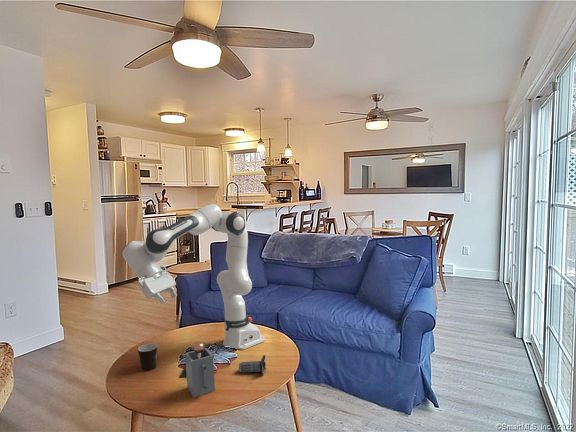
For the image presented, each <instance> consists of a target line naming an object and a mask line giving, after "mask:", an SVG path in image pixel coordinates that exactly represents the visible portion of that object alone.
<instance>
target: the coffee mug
mask: <svg viewBox="0 0 576 432" xmlns="http://www.w3.org/2000/svg"><path fill="white" fill-rule="evenodd" d="M137 353H138V357H139V362H140V368H141V369H140V370H141V371H142V370H143V372H151V371H153V370H155V369H156V367H157V356H158V344H157V343H154V342H151V343H145V344H142V345H140V346H138V348H137Z"/></svg>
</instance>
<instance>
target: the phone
mask: <svg viewBox="0 0 576 432" xmlns="http://www.w3.org/2000/svg"><path fill="white" fill-rule="evenodd" d="M180 378H186V379H187V375H186V364H185V365H184V367H183V369H182V371H181V373H180Z"/></svg>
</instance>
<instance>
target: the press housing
mask: <svg viewBox="0 0 576 432" xmlns="http://www.w3.org/2000/svg"><path fill="white" fill-rule="evenodd" d="M184 356H185V365H186V375H187V378H186V388H187V390H188V391H189V394H190V395H191V396H192V398H197V397H201V396H203V395H207V394H209V393H213V392H215V391H216V386H215V384H216V383H215V381H216V380H215V365H214V364H215V362H214V360H215V359H214V355H213V354H212V352H211V351H210V350H209V349H208V348H207V347H203V352H201V358H200V359H198V353H195V351H194V350H192V351H189V352H186V353H185V355H184Z"/></svg>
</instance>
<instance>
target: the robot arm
mask: <svg viewBox="0 0 576 432" xmlns="http://www.w3.org/2000/svg"><path fill="white" fill-rule="evenodd" d="M210 229H212V230H214V231H216V232H221V233H224V234H226V236H227V242H226V252H225V262H226V264H227V267H228V269H225V270H221V271H220V272H219V273H218V275H217V277H216V283H217V285H218V287H219V289H220V292H221V297H222V300H223V305H224V307H223V308H224V318H223V320H224V322H223V326H224V327H223V328H224V338H223V342H222V345H224V346H230V347H233V348H235V349H234V350H241V351H242V350H245V349H249V348H251V347H253V346H255V345H258V344H260V343H264V342H265V341H266V340H265V339H266V338H265V336H264V335H263V334H261V331H260V329H259V327H257V326H256V325H254V324H253V323H251V322H253V317H250V316H248V315H247V314H246V302H245V300H244V298H243V296H245V295H248V294H249V293H250V292H251V291H252V289H253V282H252V279H251V277H250V275H249V269H248V263H247V259H248V258H247V257H248V249H249V245H248V244H249V235H248V233H249V232H248V230H247V228H246V220H245V217H244V216H243V214H241V213H239V212H237V211H235V212H233V211H230V210H229V211H222V209H221V207H219V206H218V205H217V204H214V203H210V204H207V205H204V206H202V207H199V208H198V209H197V210H195V211H193V212H191V213H190V214H188V215H187V216H185V217H184V218H182V219H180V220H178V221H176V222H174V223H172V224H171V225H168V226H165V227H162V228H161V227H160V228H156V229H153V230H151V231H150V232H149V233H147V235H146V238H145V240H139V241H138V240H131V241H130V242H129V243H127V244H126V245H125V247H123V249H122V251H121V252H122V258H123V260H125V262H126V264H127V266H129V268H130V269H132V271H134V273H135V276H136V277H137V278H138V279H137V283H138V286H139V289H140V290H141V292H142V294H143V295H144V297H145V298H146V299H148V300H149V299H151V298H154V299H155V300H157V301H158V302H160V304H161V305H163V304H165V303H166V302H167V299H166V298H165V297H163V296H161V294H162V293H166V292H167V291H168V293H170V297H171V298H172V299H176V297H177V296H178V294H177V293H176V292H175V288H174V287H176V285H177V283H176V281H175V279H174V278H173V276H172V275H171V274H170V273H169V272H168V269H167V268H166V267H165V266H162V265H158V264H156V263H157V262H160V261H161V260H163V259H164V258H165V257H166V256H167V254H168V251H169V248H170V246H171V245H172V244H173V242H174V241H175V240H176V239H179V238H180V237H182V236H183V235H186V234H187V233H190V234H191V235H193V236H199V235H201V234H204V233H205V232H208V230H210ZM224 346H223V347H224Z"/></svg>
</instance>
